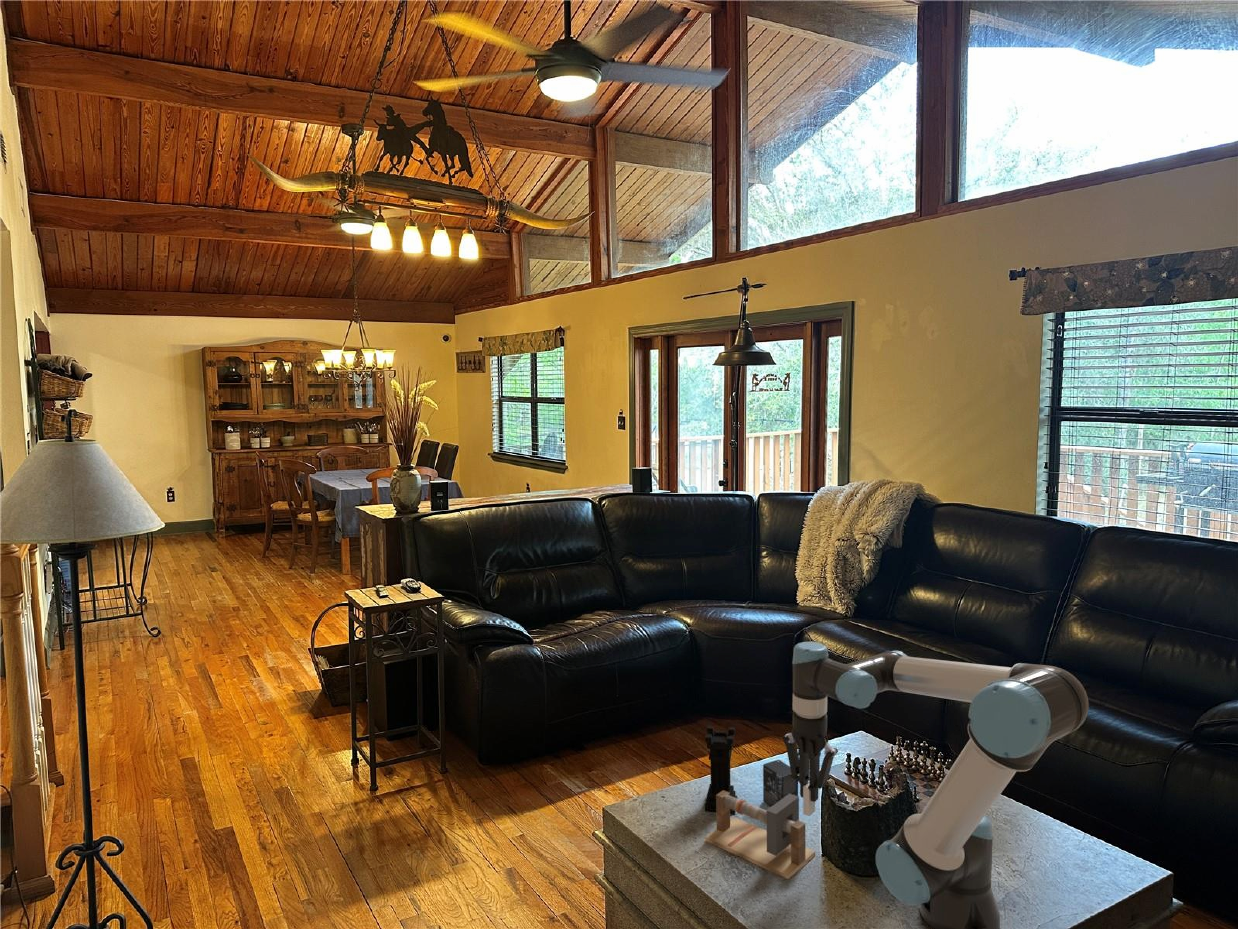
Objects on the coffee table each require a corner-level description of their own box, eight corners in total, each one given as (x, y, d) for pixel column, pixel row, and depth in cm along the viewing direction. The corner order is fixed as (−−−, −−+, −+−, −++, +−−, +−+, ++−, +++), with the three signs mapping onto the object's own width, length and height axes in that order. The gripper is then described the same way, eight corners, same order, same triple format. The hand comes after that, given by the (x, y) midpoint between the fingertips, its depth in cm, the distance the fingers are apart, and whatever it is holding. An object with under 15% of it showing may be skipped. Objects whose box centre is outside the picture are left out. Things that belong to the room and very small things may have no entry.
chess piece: (735, 814, 204) (734, 740, 202) (704, 811, 205) (703, 737, 203) (737, 798, 211) (736, 726, 210) (707, 796, 213) (706, 725, 211)
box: (762, 802, 209) (762, 763, 208) (779, 796, 212) (779, 758, 211) (781, 815, 203) (781, 776, 202) (799, 810, 205) (798, 771, 204)
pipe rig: (815, 855, 185) (815, 814, 184) (788, 879, 176) (788, 836, 175) (734, 820, 201) (733, 782, 200) (705, 841, 192) (705, 801, 191)
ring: (798, 837, 186) (798, 797, 185) (776, 856, 179) (775, 814, 178) (789, 833, 188) (789, 793, 187) (766, 851, 181) (766, 810, 180)
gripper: (844, 714, 174) (843, 816, 176) (792, 699, 183) (792, 796, 185) (828, 725, 169) (827, 830, 171) (775, 709, 177) (775, 809, 180)
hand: (809, 812), depth 178 cm, fingers closed
